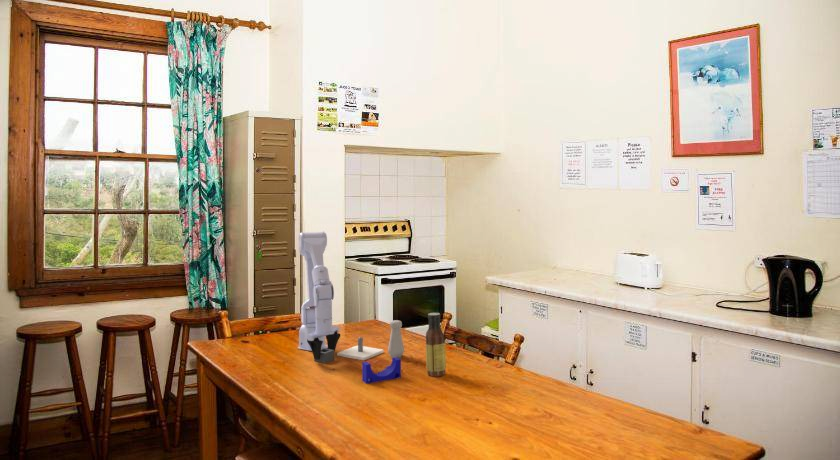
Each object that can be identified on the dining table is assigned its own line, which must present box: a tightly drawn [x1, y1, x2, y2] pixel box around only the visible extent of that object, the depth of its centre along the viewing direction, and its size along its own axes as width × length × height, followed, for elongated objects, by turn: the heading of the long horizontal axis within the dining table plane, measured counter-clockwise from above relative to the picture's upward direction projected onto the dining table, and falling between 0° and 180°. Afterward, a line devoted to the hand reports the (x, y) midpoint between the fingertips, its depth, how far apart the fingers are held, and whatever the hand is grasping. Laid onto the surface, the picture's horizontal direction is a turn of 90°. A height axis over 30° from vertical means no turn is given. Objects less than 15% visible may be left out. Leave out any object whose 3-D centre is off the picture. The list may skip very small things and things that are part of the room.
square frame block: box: [313, 348, 336, 364], centre depth 200 cm, size 5×5×4 cm
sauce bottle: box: [425, 312, 447, 377], centre depth 184 cm, size 7×6×20 cm
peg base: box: [336, 336, 384, 361], centre depth 208 cm, size 12×12×6 cm
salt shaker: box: [387, 319, 405, 359], centre depth 204 cm, size 6×6×13 cm
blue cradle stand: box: [361, 357, 402, 384], centre depth 181 cm, size 12×4×6 cm, turn 119°
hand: (324, 356), depth 200 cm, fingers open, 7 cm apart
